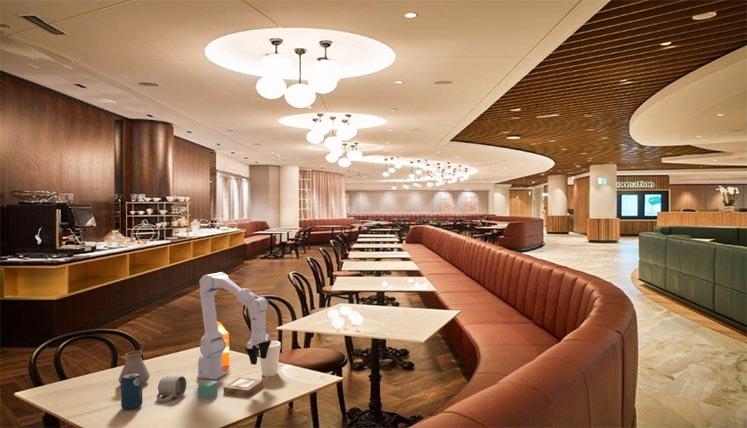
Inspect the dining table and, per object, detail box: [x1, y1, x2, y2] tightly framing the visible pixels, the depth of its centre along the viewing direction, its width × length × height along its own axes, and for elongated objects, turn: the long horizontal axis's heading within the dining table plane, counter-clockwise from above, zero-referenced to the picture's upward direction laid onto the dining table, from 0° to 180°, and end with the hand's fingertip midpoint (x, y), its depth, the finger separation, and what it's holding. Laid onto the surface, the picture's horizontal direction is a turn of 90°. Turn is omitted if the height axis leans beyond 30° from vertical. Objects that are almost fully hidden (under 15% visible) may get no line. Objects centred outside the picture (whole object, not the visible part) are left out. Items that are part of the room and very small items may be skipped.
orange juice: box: [217, 320, 230, 368], centre depth 222 cm, size 8×9×20 cm
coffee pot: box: [118, 337, 151, 386], centre depth 203 cm, size 21×12×15 cm, turn 5°
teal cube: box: [197, 379, 219, 400], centre depth 187 cm, size 5×5×5 cm
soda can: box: [120, 372, 143, 412], centre depth 176 cm, size 7×7×12 cm
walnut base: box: [223, 376, 264, 398], centre depth 192 cm, size 11×11×3 cm
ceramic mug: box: [156, 375, 188, 403], centre depth 185 cm, size 11×8×8 cm
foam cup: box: [257, 340, 282, 377], centre depth 210 cm, size 10×9×13 cm
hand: (258, 361), depth 197 cm, fingers open, 7 cm apart
